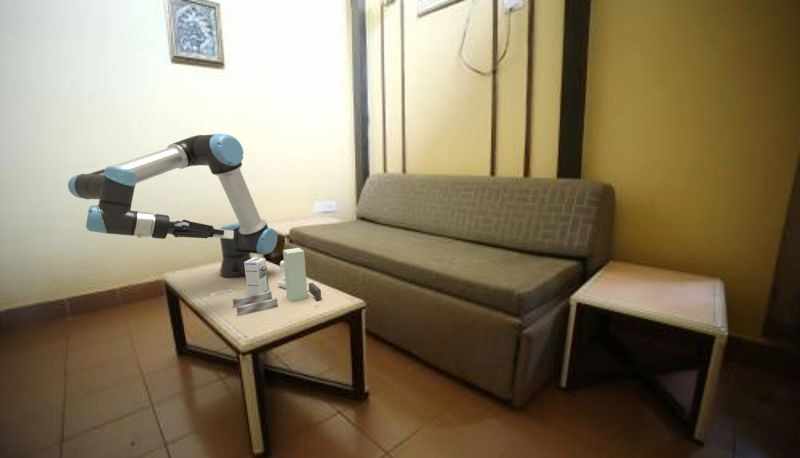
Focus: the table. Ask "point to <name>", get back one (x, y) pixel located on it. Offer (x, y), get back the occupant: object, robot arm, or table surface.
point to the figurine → (282, 282)
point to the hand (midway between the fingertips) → (232, 234)
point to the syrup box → (256, 276)
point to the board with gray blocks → (266, 301)
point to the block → (295, 274)
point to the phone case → (221, 292)
